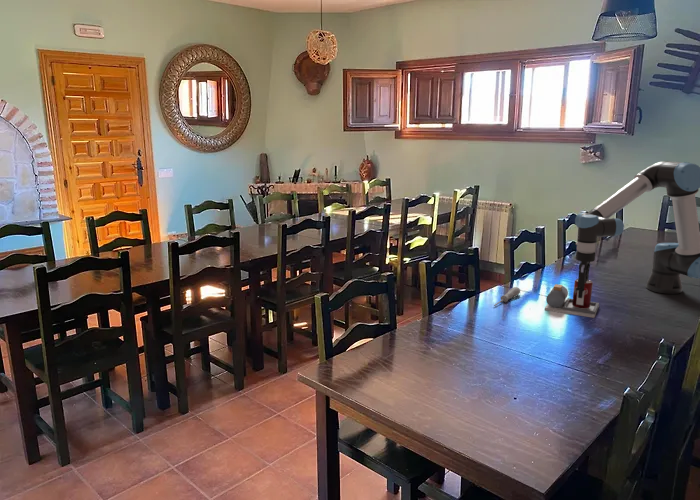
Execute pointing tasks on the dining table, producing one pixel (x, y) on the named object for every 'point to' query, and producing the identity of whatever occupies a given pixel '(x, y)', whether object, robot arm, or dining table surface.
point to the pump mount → (567, 303)
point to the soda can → (586, 295)
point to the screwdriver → (509, 295)
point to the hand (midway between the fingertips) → (581, 301)
